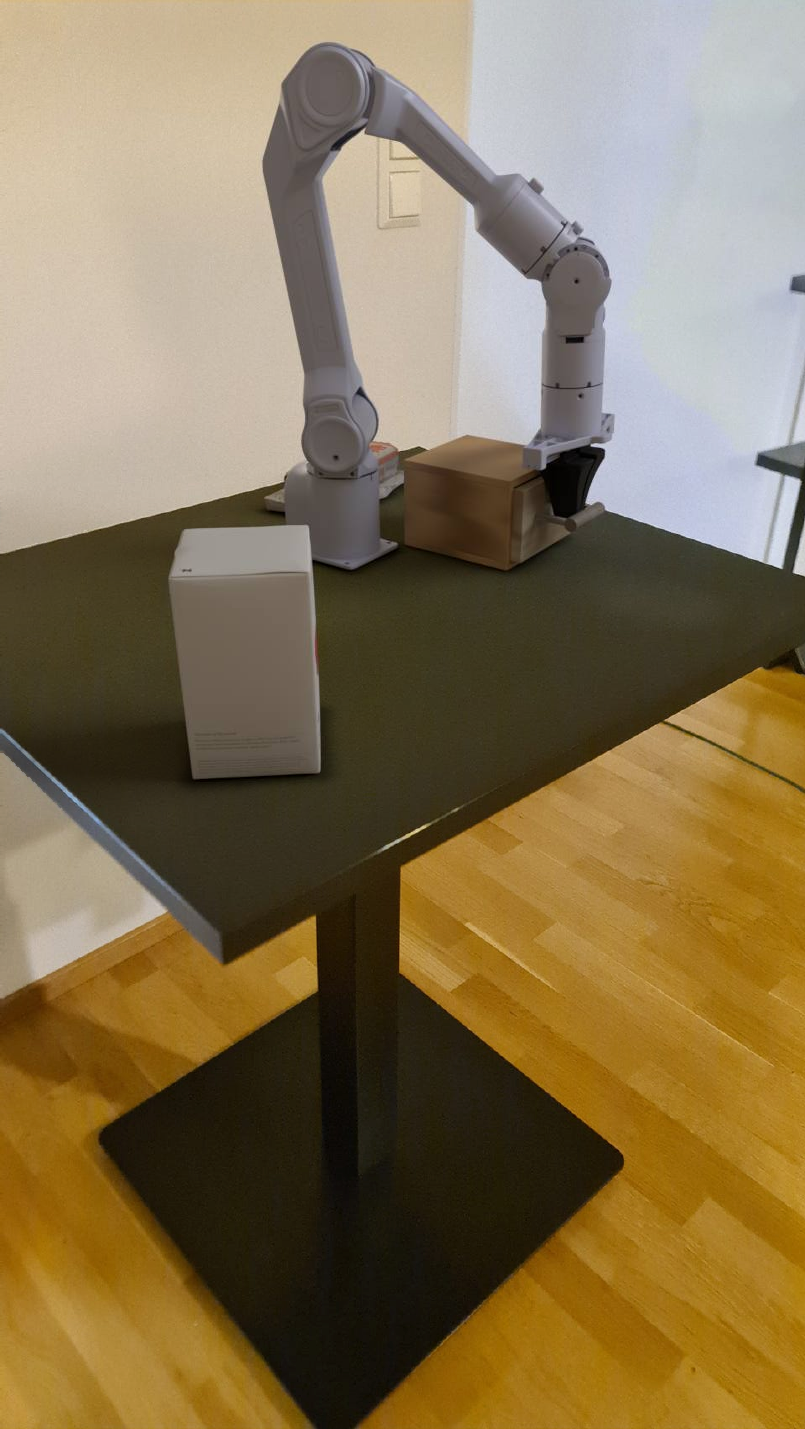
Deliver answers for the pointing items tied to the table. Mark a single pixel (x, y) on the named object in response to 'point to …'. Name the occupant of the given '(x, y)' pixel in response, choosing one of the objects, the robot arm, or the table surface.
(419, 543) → the cabinet
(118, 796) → the table surface
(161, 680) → the table surface
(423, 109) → the robot arm
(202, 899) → the table surface
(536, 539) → the drawer
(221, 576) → the rectangular carton
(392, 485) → the packaged product
